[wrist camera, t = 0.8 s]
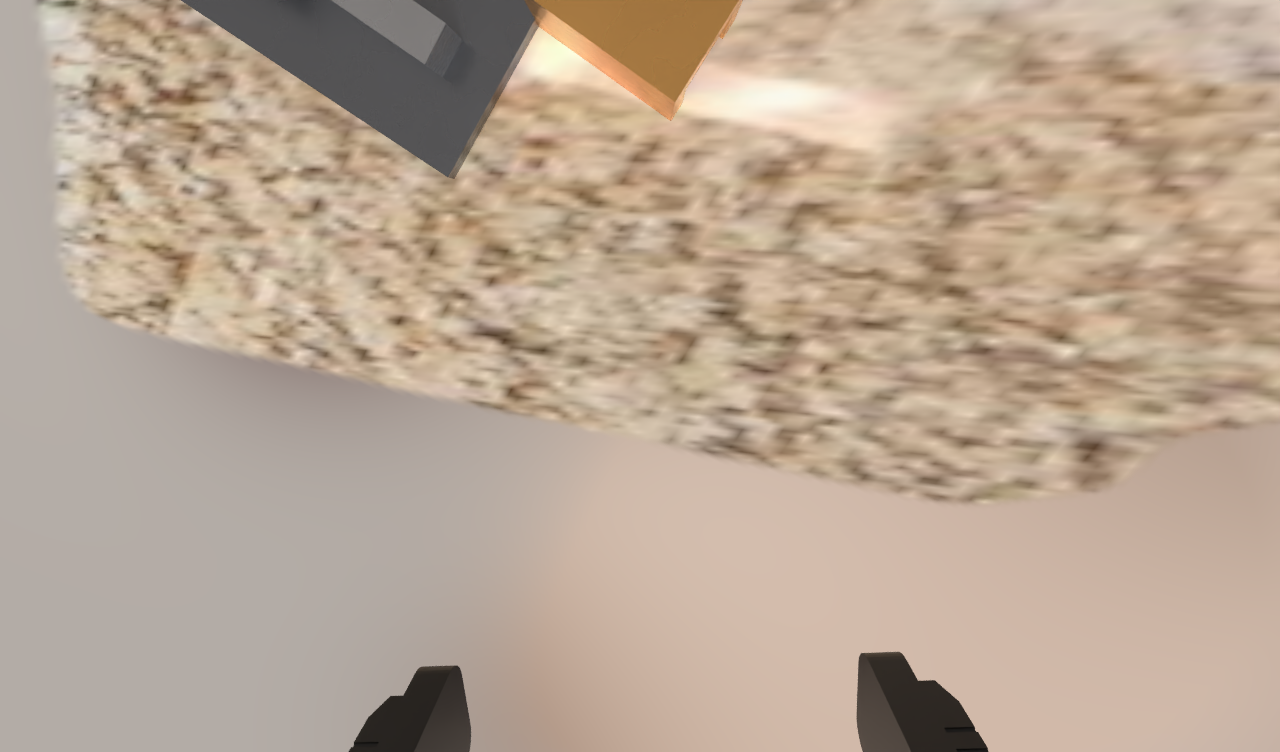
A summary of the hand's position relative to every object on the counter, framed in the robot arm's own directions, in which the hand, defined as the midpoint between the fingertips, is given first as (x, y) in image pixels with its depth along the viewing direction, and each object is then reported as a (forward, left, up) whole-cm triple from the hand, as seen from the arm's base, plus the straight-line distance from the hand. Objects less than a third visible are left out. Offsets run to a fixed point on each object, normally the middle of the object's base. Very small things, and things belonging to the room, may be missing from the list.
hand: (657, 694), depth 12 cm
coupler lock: (-15, -11, -23) cm, 30 cm away
